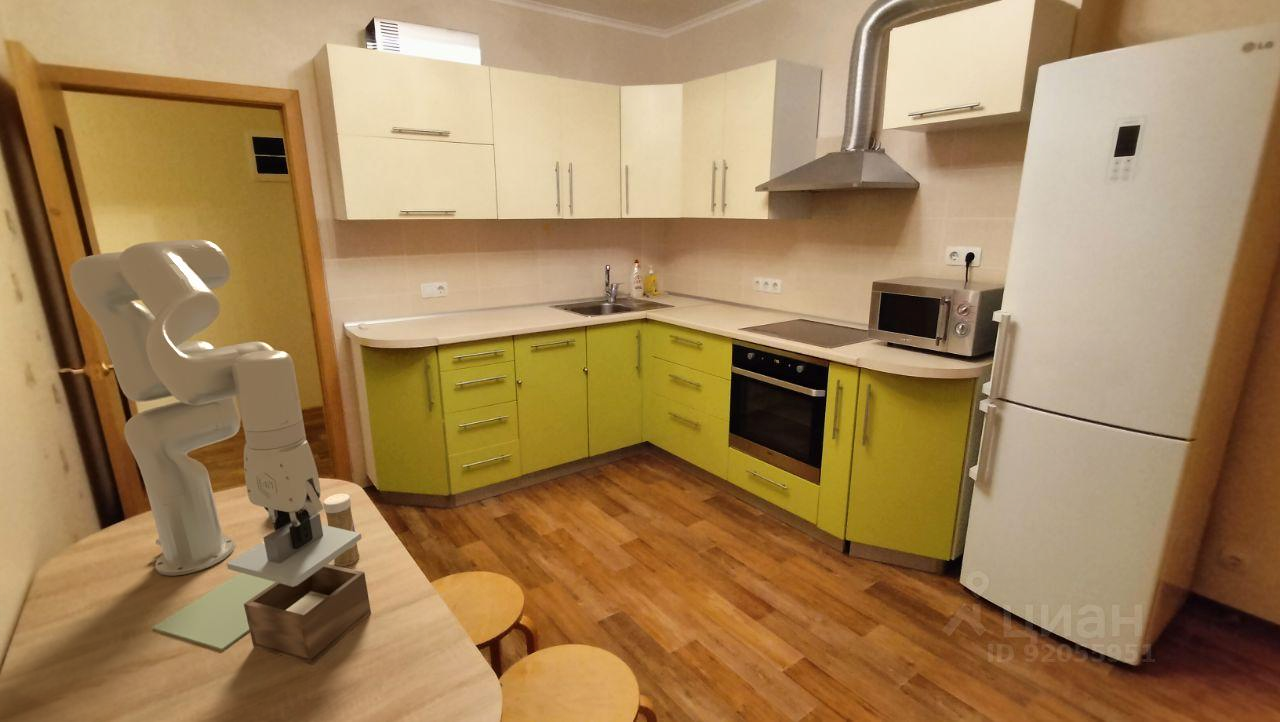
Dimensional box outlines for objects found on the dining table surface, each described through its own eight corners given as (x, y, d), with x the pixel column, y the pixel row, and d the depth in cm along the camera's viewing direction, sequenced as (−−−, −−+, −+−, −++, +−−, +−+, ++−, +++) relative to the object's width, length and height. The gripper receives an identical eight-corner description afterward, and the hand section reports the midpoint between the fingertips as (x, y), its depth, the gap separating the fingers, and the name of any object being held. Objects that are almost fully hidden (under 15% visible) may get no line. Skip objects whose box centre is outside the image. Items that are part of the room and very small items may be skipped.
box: (253, 647, 92) (243, 603, 89) (316, 599, 102) (308, 559, 100) (312, 664, 88) (303, 619, 86) (371, 613, 99) (364, 572, 97)
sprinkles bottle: (361, 562, 113) (351, 499, 110) (335, 570, 111) (324, 506, 107) (357, 551, 117) (347, 490, 113) (332, 558, 114) (321, 497, 111)
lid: (229, 577, 88) (221, 540, 87) (302, 532, 100) (296, 498, 98) (295, 595, 84) (287, 556, 82) (362, 546, 96) (357, 511, 94)
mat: (152, 629, 96) (152, 627, 96) (243, 572, 111) (243, 570, 110) (222, 650, 91) (222, 648, 91) (308, 588, 106) (308, 586, 105)
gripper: (211, 436, 85) (235, 546, 90) (295, 451, 80) (315, 566, 85) (258, 418, 92) (278, 521, 97) (338, 431, 87) (354, 539, 92)
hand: (295, 541), depth 91 cm, fingers closed on lid
